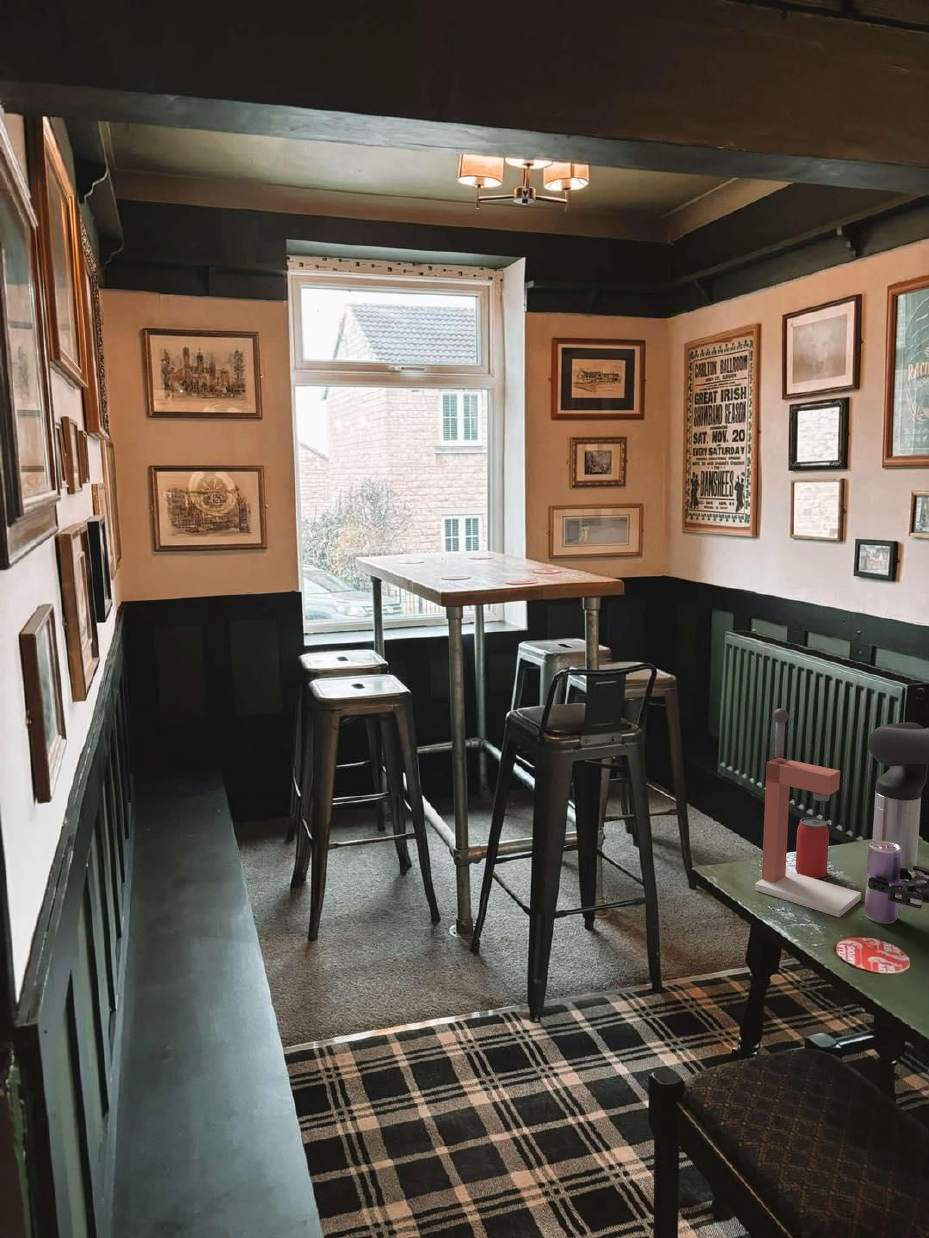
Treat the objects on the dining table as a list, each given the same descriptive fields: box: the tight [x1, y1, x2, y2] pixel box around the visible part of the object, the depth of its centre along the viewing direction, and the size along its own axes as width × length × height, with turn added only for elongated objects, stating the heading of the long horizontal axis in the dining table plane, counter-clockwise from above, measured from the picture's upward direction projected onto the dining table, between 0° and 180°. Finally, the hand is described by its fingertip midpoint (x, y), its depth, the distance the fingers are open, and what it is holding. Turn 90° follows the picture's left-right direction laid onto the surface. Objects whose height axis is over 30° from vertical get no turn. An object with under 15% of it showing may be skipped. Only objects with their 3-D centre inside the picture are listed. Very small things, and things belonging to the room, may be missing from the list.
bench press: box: [754, 708, 862, 918], centre depth 188 cm, size 11×18×39 cm, turn 46°
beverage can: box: [864, 840, 901, 925], centre depth 179 cm, size 6×6×15 cm
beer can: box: [795, 817, 830, 879], centre depth 200 cm, size 7×7×12 cm
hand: (877, 875), depth 180 cm, fingers open, 8 cm apart
